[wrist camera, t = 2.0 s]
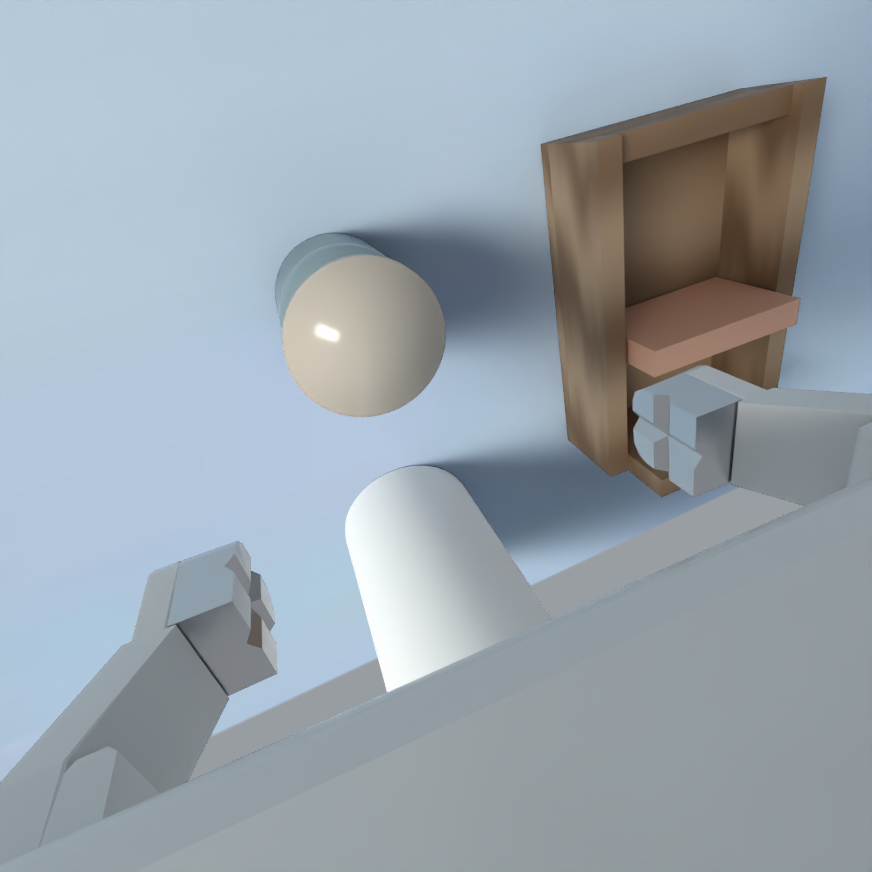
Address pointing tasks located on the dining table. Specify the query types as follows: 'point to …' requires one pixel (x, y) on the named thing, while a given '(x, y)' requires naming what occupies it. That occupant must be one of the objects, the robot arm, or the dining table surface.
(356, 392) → the jar
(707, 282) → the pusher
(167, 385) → the dining table surface
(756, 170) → the brown wooden open box
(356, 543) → the cylindrical container
